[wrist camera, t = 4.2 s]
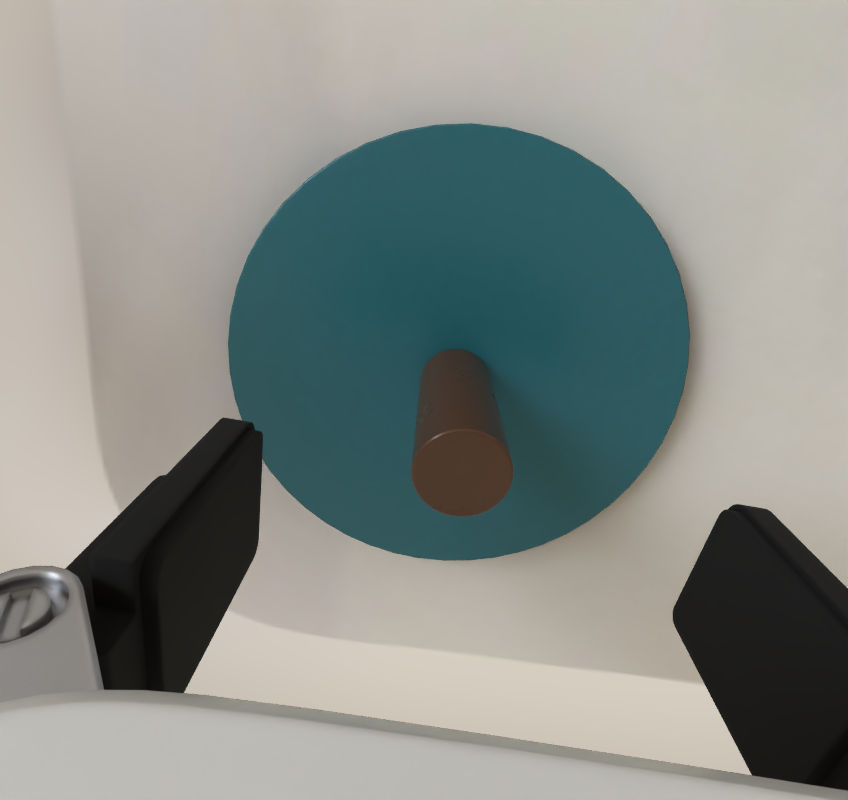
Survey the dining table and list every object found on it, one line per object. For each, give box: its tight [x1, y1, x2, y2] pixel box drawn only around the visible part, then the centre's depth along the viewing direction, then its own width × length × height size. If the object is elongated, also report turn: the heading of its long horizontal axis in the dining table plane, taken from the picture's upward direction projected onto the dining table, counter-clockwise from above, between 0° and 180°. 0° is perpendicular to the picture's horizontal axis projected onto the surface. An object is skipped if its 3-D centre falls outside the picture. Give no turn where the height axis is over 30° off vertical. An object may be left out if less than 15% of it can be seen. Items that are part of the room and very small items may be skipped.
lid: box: [228, 124, 690, 560], centre depth 15 cm, size 16×16×7 cm
